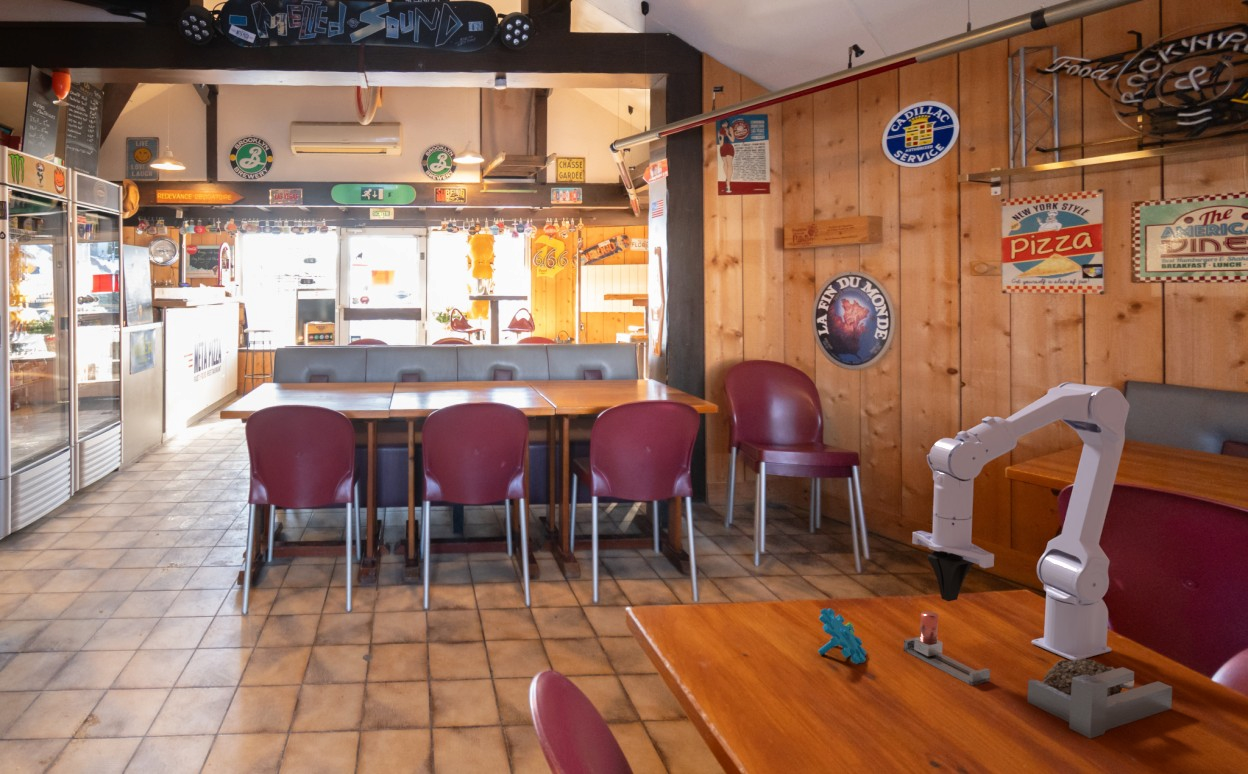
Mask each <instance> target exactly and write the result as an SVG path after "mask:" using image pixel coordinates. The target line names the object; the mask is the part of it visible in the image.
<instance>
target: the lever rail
mask: <svg viewBox="0 0 1248 774" xmlns="http://www.w3.org/2000/svg"><path fill="white" fill-rule="evenodd" d="M916 638H920V636H915V637H911V638H908V639H904V640H903V651H904V652H905V653H907V654H910V655H911V656H914V657H916V658H917V659H919V660H921V661H923V662H925V663H927V664H929V665H931V666H933V667H935V668H937V669H939V670H941V671H942V672H945V673H947V674H948V675H951V676H953V677H955V678H956V679H959V680H960V681H963V682H964V683H966V684H967V685H970V686H976V685H981V684H984V683H988V682H990V679H991V678H990V677H991V669H989V668H987V667H986V668H983V669H978V670H975V669H973V668H971V667H970V666H967V665H965V664H963V663H961V662H959V661H958V660H955V659H954V658H951V657H949V656H947V655H945V654H943V653H941V654H937V655H932V656H926V655H924V654H922V653H920V652H918V651H916V650H914V642H915V639H916Z"/></svg>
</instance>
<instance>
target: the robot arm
mask: <svg viewBox="0 0 1248 774" xmlns="http://www.w3.org/2000/svg"><path fill="white" fill-rule="evenodd" d="M1130 407H1131V405H1130V404H1129V402H1128V400H1127V399H1126V398H1125V395H1124V394H1123V393H1122V392H1121V391H1120V390H1119V389H1118V388H1116V387H1113V386H1098V385H1091V384H1090V385H1089V384H1084V383H1083V384H1082V383H1076V382H1071V381H1066V382H1062V383H1060V384H1059V385H1058V386H1054V387H1051V388H1049V389H1048V390H1047V393H1046V394H1045V395H1043V396H1042V397H1040V398H1039V399H1037V400H1035V401H1033V402H1032V403H1030V404H1029V405H1027V406H1025V407H1023V408H1022V409H1020V410H1018V411H1017V412H1015V413H1014V414H1011V415H1010V416H1008V417H1007V418H1003V417H1001V416H1000V417H999V416H988V415H987V416H986V417H983V418H982V419H981V423H979V424H977V425H975V426H974V427H972V428H969V429H967V430H966V431H965V430H961V431H958V432H957V435H956V436H955V437H954V438H951V437H943V438H940V439H939V440H937V441H936V442H935V443H934V444H933V445H932V447H931V448H930V450H929V454H927V455H926V461H927V465H928V466H929V468H930V469H931V471H932V480H933V481H934V482H933V505H932V507H933V508H932V510H933V511H932V512H933V513H932V533H931V532H927V531H924V530H917V531H912V541H911V543H912V545H913V544H914V545H917V546H919V545H921V546H922V547H927V548H928V549H930V550H931V551H933V552H932V553H929V554H927V560H928V562H929V564H930V566H931V568H932V570H933V573H934V574H935V577H936V580H937V584H938V587H939V588H938V589H939V592H940V597H941V599H942V600H944V601H946V602H952V601H957V600H958V597H959V594H960V591H961V588H962V585H963V583H964V580H965V578H966V576H967V575H968V573H969V571H970V570H971V568H972V567H973V565H974V564H976V565H979V567H980V568H982V569H988V568H992V567H994V566H995V563H994V562H995V554H994V553H992V552H989V551H987V550H984V548H981V547H979V545H976V544H974V543H973V542H972V532H973V531H972V530H973V506H974V505H973V504H974V503H973V502H974V480H975V478H977V477H978V476H979V475H980V474H981V472H982V470H983V467H984V466H985V465H987V464H988V463H989V462H991V461H993V460H995V459H996V458H999V457H1000V456H1002V455H1004V454H1007V453H1009V452H1011V451H1012V450H1013V449H1015V448H1016V446H1017V444H1018V440H1019V438H1021V437H1023V436H1025V435H1028V434H1030V433H1032V432H1034V431H1037V430H1038V429H1041V428H1043V427H1046V426H1048V425H1050V424H1053V423H1055V422H1057V421H1059V420H1061V421H1062V422H1063V423H1065V424H1066V425H1067V426H1069V427H1070V428H1071V429H1072V430H1073V431H1075V432H1076V434H1077V435H1078V436H1079V438H1080V439H1081V441H1082V442H1083V446H1082V451H1081V455H1080V460H1079V463H1078V467H1077V472H1076V475H1075V478H1074V483H1073V487H1072V491H1071V495H1070V497H1069V502H1068V507H1067V509H1066V513H1065V514H1066V515H1065V520H1064V523H1063V526H1062V530H1061V534H1059V535H1057V536H1056V537H1054V538H1052V539H1050V540H1049V541H1048V542H1047V545H1046V548H1045V550H1044V553H1042V555H1041V556H1040V558H1039V560H1038V561H1037V565H1036V575H1037V577H1038V578H1037V579H1039V581H1040V582H1041V583H1042V584H1043V591H1045V592H1046V593H1045V594H1046V595H1045V611H1044V612H1045V613H1044V616H1045V617H1044V630H1043V633H1044V634H1043V637H1040V638H1036V639H1032V640H1031V644H1032V645H1034V646H1037V647H1040V648H1042V649H1045V650H1046V651H1048V652H1051V653H1053V654H1055V655H1056V654H1057V655H1058V656H1061V657H1063V658H1066V659H1067V660H1069V661H1078V660H1080V659H1082V658H1084V659H1087V658H1091V657H1093V656H1097V655H1102V654H1106V653H1109V652H1112V648H1111V647H1110V646H1107V642H1108V627H1109V626H1108V624H1109V622H1108V621H1109V609H1108V607H1107V605H1106V603H1105V601H1104V599H1103V597H1104V596H1105V595H1106V594H1107V592H1108V589H1109V585H1110V577H1109V566H1110V562H1111V561H1110V559H1109V557H1108V556H1107V555H1106V553H1105V552H1104V550H1103V549H1102V547H1101V546H1100V540H1101V537H1102V536H1101V535H1102V532H1103V528H1104V525H1105V519H1106V515H1107V512H1108V508H1109V504H1110V501H1111V497H1112V493H1113V490H1114V484H1115V482H1116V477H1117V474H1118V468H1119V465H1120V462H1121V457H1122V453H1123V449H1124V445H1125V440H1126V433H1125V432H1126V431H1125V429H1126V422H1127V419H1128V416H1129V415H1128V414H1129V410H1130Z"/></svg>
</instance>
